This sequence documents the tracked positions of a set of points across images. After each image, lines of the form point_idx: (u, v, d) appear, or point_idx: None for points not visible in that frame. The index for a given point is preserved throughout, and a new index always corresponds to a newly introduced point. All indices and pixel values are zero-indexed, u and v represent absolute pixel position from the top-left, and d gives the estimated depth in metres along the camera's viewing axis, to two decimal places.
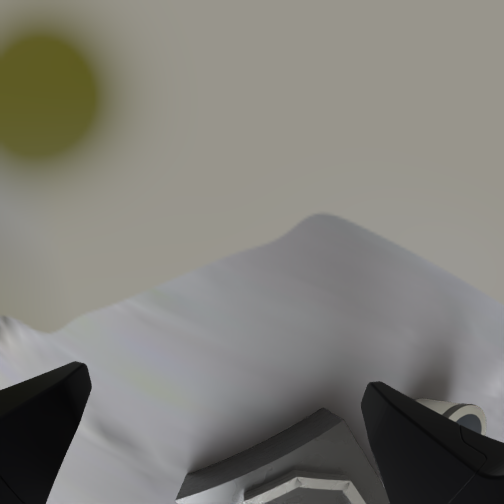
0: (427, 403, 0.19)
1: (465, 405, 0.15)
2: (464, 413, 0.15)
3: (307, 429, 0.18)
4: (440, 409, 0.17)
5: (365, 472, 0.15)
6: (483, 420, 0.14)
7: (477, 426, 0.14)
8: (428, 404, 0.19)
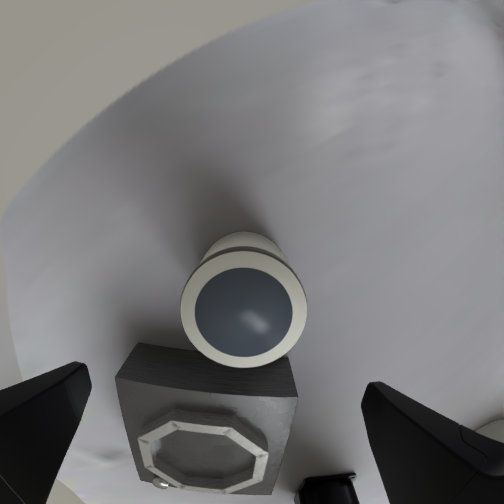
0: None
1: (192, 274, 0.13)
2: (197, 287, 0.13)
3: None
4: None
5: (188, 397, 0.17)
6: (260, 255, 0.13)
7: (250, 278, 0.13)
8: None
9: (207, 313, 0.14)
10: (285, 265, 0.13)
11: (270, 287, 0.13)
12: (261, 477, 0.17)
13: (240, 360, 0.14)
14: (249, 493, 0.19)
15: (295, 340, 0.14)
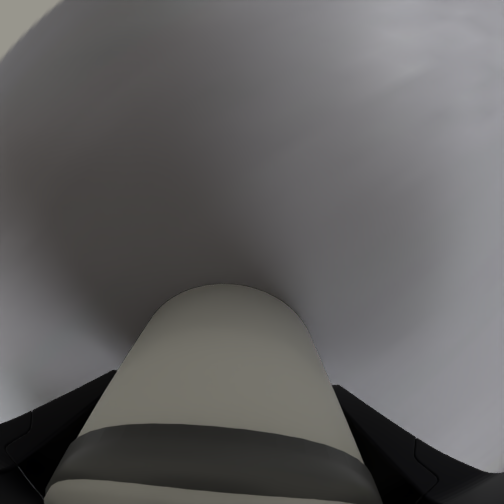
0: None
1: (49, 485, 0.02)
2: None
3: None
4: None
5: None
6: (257, 499, 0.02)
7: None
8: None
9: None
10: (351, 500, 0.02)
11: None
12: None
13: None
14: None
15: None
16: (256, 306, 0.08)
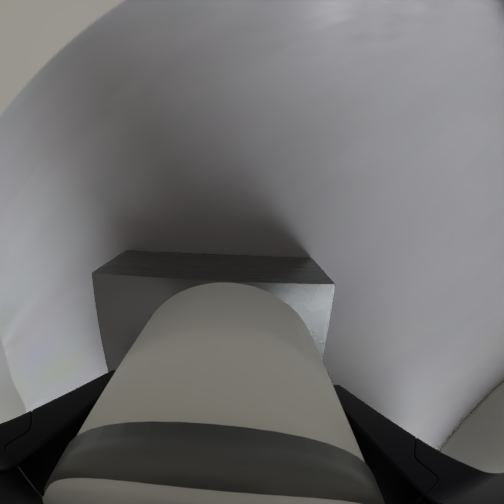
0: None
1: (48, 483, 0.02)
2: None
3: None
4: None
5: None
6: (258, 498, 0.02)
7: None
8: None
9: None
10: (352, 499, 0.02)
11: None
12: None
13: None
14: None
15: None
16: (256, 304, 0.07)
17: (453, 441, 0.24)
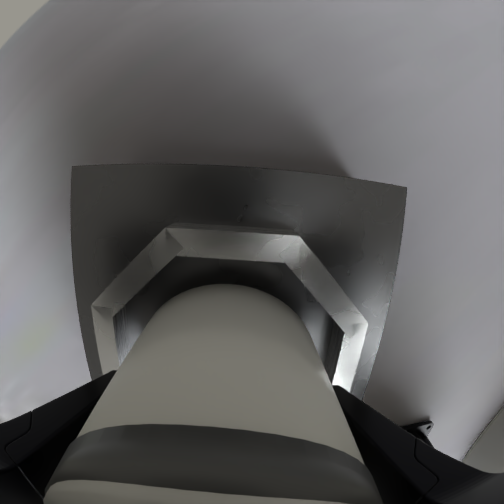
0: None
1: (48, 485, 0.02)
2: None
3: None
4: None
5: (205, 184, 0.09)
6: (257, 500, 0.02)
7: None
8: None
9: None
10: (351, 501, 0.02)
11: None
12: None
13: None
14: None
15: None
16: (256, 306, 0.07)
17: (487, 435, 0.19)
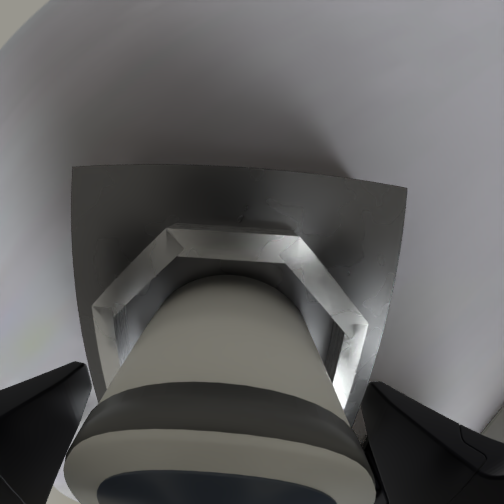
0: None
1: (70, 448, 0.03)
2: (90, 479, 0.03)
3: None
4: None
5: (206, 184, 0.09)
6: (257, 440, 0.03)
7: (225, 492, 0.03)
8: None
9: None
10: (336, 450, 0.03)
11: (287, 500, 0.03)
12: (344, 399, 0.10)
13: None
14: None
15: None
16: (256, 293, 0.08)
17: (486, 436, 0.19)
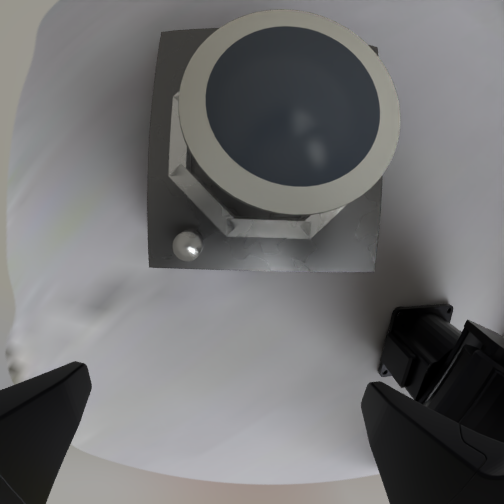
0: None
1: None
2: (213, 57, 0.06)
3: None
4: None
5: None
6: (313, 19, 0.06)
7: (303, 40, 0.06)
8: None
9: (230, 97, 0.07)
10: None
11: (337, 55, 0.06)
12: None
13: (296, 196, 0.07)
14: (341, 267, 0.15)
15: (390, 154, 0.07)
16: None
17: None
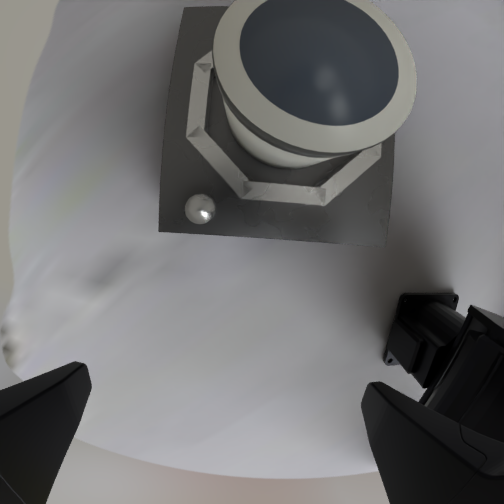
0: None
1: None
2: (247, 10, 0.06)
3: None
4: None
5: None
6: None
7: (328, 4, 0.06)
8: None
9: (262, 43, 0.06)
10: None
11: (359, 19, 0.06)
12: (379, 146, 0.13)
13: (324, 133, 0.07)
14: (353, 240, 0.15)
15: (409, 106, 0.07)
16: None
17: None
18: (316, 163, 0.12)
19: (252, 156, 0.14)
